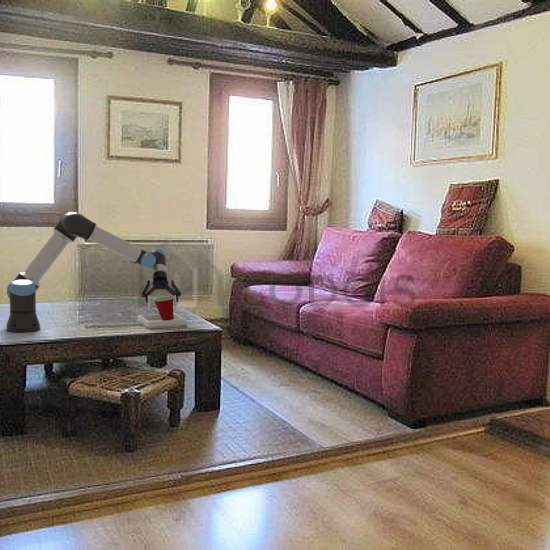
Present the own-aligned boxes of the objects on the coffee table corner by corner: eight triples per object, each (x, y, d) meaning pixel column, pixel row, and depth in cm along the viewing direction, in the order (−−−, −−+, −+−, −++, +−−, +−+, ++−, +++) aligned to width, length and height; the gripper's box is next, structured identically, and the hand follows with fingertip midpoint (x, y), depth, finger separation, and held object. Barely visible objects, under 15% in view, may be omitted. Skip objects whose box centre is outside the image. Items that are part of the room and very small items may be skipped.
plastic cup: (176, 320, 330) (171, 297, 328) (156, 323, 331) (151, 301, 329) (180, 316, 340) (176, 293, 339) (161, 319, 341) (156, 297, 340)
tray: (147, 329, 319) (147, 322, 319) (137, 321, 337) (137, 315, 337) (186, 326, 328) (186, 319, 328) (174, 319, 346) (174, 313, 346)
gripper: (182, 278, 350) (186, 310, 337) (135, 279, 343) (137, 311, 331) (183, 270, 344) (187, 302, 332) (136, 270, 338) (138, 303, 325)
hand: (162, 307), depth 331 cm, fingers open, 13 cm apart
